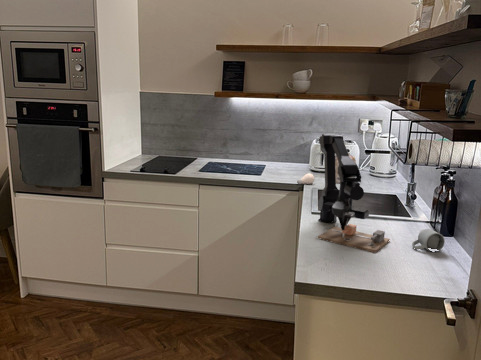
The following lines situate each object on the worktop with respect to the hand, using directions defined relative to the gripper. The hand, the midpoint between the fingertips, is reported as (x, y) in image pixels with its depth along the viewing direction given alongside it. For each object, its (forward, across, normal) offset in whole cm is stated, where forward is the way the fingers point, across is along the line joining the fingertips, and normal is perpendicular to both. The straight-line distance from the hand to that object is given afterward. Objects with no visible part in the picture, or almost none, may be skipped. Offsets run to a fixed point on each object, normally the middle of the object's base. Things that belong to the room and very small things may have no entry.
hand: (343, 230), depth 199 cm
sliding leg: (+1, +3, -2) cm, 4 cm away
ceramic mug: (+2, +32, +6) cm, 33 cm away
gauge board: (+2, +6, -3) cm, 7 cm away
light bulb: (+2, -55, +70) cm, 89 cm away
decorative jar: (+2, -41, +93) cm, 101 cm away
